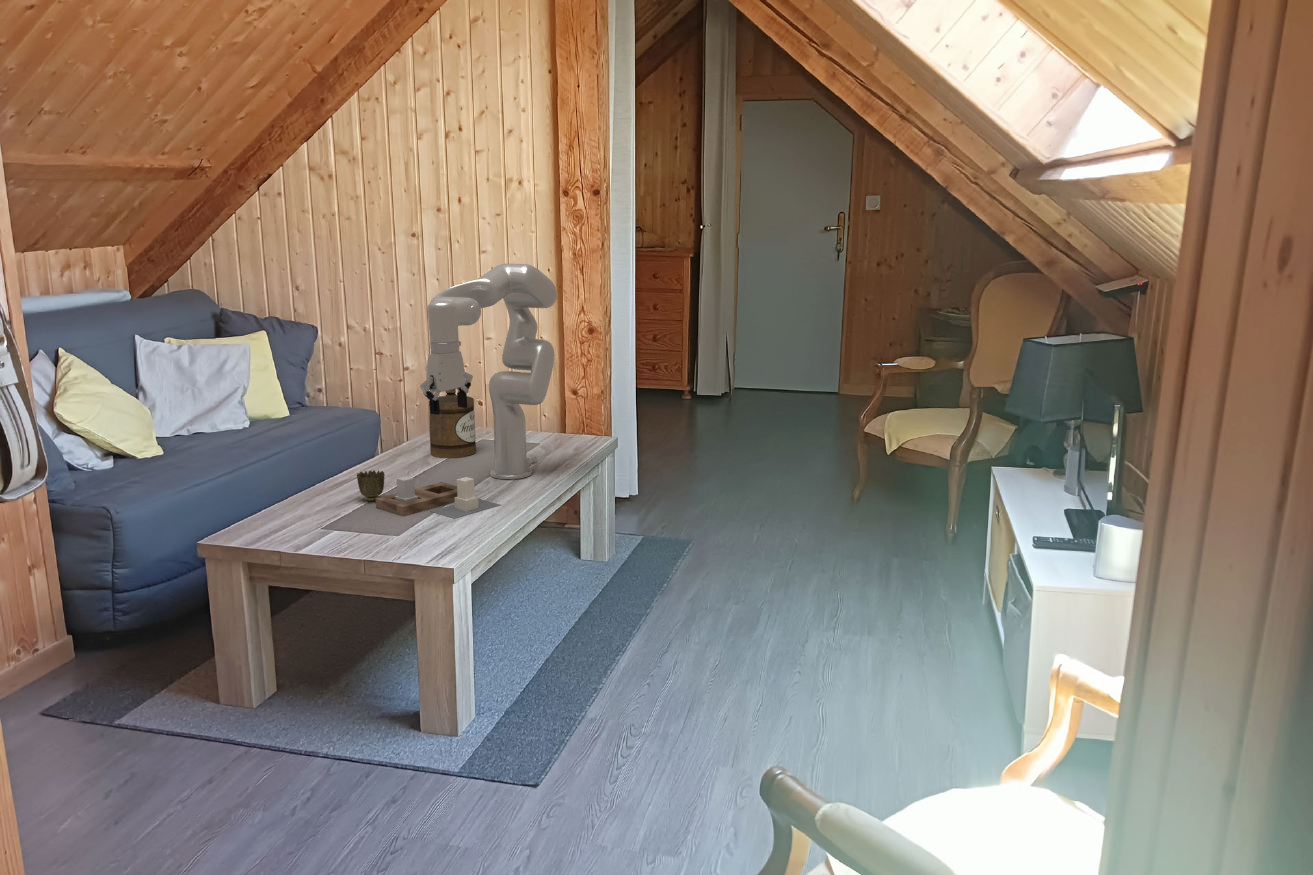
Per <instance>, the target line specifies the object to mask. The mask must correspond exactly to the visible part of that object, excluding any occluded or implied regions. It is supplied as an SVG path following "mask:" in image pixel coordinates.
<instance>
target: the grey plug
mask: <svg viewBox="0 0 1313 875" xmlns="http://www.w3.org/2000/svg"><path fill="white" fill-rule="evenodd" d="M414 489H415V479H414V477H410V476H407V475H406V476H402V477H397V478H396V490H397V491H396V493H397V494H398V496H395V500H398V501H401V502H404V503H406V502H410V501H413V500H417V499H418V496H415V490H414Z"/></svg>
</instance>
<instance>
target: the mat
mask: <svg viewBox="0 0 1313 875" xmlns="http://www.w3.org/2000/svg"><path fill="white" fill-rule="evenodd" d="M500 506H501V504H500V503H497V502H492V501H489V500H486V499H481V498H478V508H477V509H474V510H470V511H463V510H460V509H456V508H455V503H454V504H449V505H447V506H443V507H440V508H436V509H433V510H432V509H431V510H430V513H433V514H436V515H440V516H444V517H447V518H451V519H452V520H453V519H454V520H455V519H458V518H462V517H466V516H470V515H473V514H476V513H479V512H483V511H486V510H489V509H493V508H496V507H500Z"/></svg>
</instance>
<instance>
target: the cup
mask: <svg viewBox="0 0 1313 875" xmlns="http://www.w3.org/2000/svg"><path fill="white" fill-rule="evenodd" d="M385 477H386V476H385V472H384V471H383V470H381V471H380V470H379V469H378V471H375V469H374V470H369V471H368V472H367V470H365V471H364V472H362V471H359V472H357V473H356V479H357V485H358V490H359V492H360V494H361V495H362V496H364V497H365V501H366V502H376V498H380V495H381V494H383V492H384V487H385Z"/></svg>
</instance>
